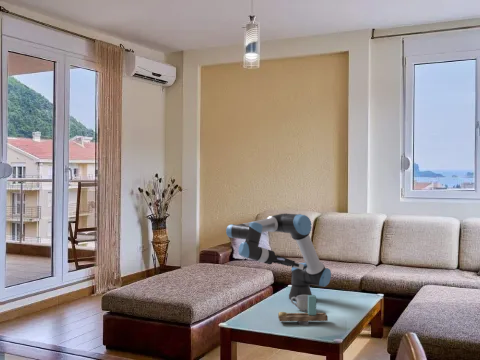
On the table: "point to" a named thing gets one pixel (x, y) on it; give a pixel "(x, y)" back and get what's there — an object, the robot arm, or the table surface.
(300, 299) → the teacup
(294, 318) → the beam
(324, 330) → the table surface
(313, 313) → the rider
